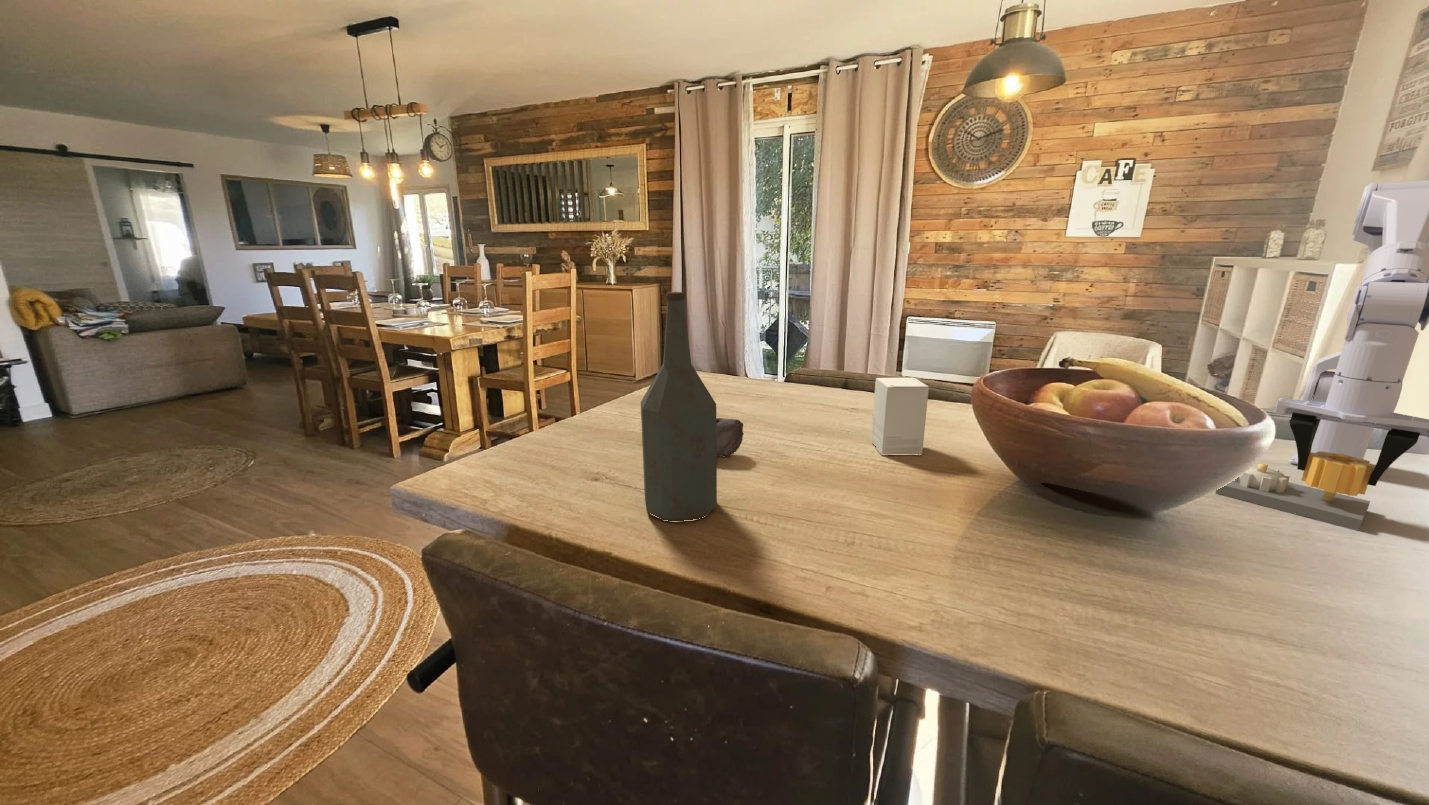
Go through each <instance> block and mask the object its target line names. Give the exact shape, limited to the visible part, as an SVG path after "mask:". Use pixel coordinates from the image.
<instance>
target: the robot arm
mask: <svg viewBox="0 0 1429 805" xmlns="http://www.w3.org/2000/svg"><path fill="white" fill-rule="evenodd" d="M1352 235H1353V238H1352V240H1353V241H1354V242H1356V243H1360V244H1362V245H1365V246H1367V250H1368V258H1367V260H1366V263H1365V266H1364V267H1365V268H1364V271H1363V275H1362V280H1361V283H1360V284H1359V285H1358V286H1357V287H1356V288H1355V291H1354V293H1353V297H1352V299H1351V301H1350V302H1351V303H1350V306H1349V309H1348V313H1347V316H1346V330H1345V334H1344V340H1345V341H1344V344H1343V346H1342V349H1341V350H1340V351H1337V352H1335V353H1332V354H1329V355H1326V356H1323V357H1321V358H1319V359H1317V360H1316V362H1313V364H1312V367H1311V368H1312V369H1311V371H1310V372H1309V374H1308V378H1307V381H1306V385H1305V387H1304V392H1303V394H1302V398H1301V399H1293V398H1292V399H1291V398H1285V397H1280V398H1279V399H1278V400H1277V401H1276V407H1275V410H1274V414H1279V415H1291V417H1290V419H1289V421H1288V422H1289V427H1290V430H1291V432H1292V434H1293V437H1294V441H1295V445H1296V450H1297V451H1295V453H1294V454H1293V455H1292V456H1291V457H1290V458H1289V459H1288V463H1289V464H1294V465H1297V470H1299V471H1303V472H1304V470H1305V468H1306V464H1307V460H1308V457H1309V453H1310V452H1312V453H1316V452H1318V451H1324V452H1328V453H1336V454H1339V453H1340V454H1345V455H1349V456H1351V457H1356V458H1358V459H1365V455H1366V452H1367V448H1368V446H1369V443H1370V440H1371V437H1372V435H1373V431H1374V429H1377V430H1384V431H1387V433H1386V435H1385V438H1384V440H1383V443H1382V447H1381V451H1380V452H1379V456H1378V459H1377V462H1376V464H1375V466H1374V469H1373V471H1372V474H1371V476H1370V478H1369V481H1368V484H1367V485H1368V486H1372V487H1376V486H1377V483H1378V481H1380V478H1381V477H1382V476H1383V474H1384V473H1385V472H1386V470H1388V468H1389V467H1390V466H1391V465H1392V464H1393V463H1394V462H1395V461H1397V459H1399V458H1400V457H1401V456H1402V455H1404V454H1405V453H1406V452H1407V451H1408V450H1410V449H1411V448H1412V447H1414V446H1415V445H1416V444H1417V443H1418V440H1419V438H1420V437H1426V438H1428V439H1429V419H1428V418H1424V417H1418V416H1413V415H1408V414H1402V413H1397V412H1395V410H1396V409H1397V404H1398V403H1399V399H1400V398H1401V392H1402V390H1403V381H1404V379H1405V375H1406V373H1407V370H1408V366H1409V365H1410V361H1411V358H1412V355H1413V352H1414V349H1415V346H1416V343H1417V340H1418V338H1419V335H1420V332H1419V331H1418V330H1417V329H1416V326H1417V325H1418V324H1420V331H1422V332H1423V331H1424V330H1425V329H1426V328H1427V326H1428V325H1429V179H1427V180H1425V179H1424V180H1409V181H1393V182H1378V183H1377V182H1375V181H1374V182H1370V183H1369V184H1368V185H1366V186H1364V189H1363V191H1362V196H1361V198H1360V202H1359V205H1358V208H1357V212H1356V216H1355V219H1354V227H1353V230H1352ZM1331 370H1335V371H1331Z"/></svg>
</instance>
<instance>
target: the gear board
mask: <svg viewBox="0 0 1429 805" xmlns="http://www.w3.org/2000/svg"><path fill="white" fill-rule="evenodd" d="M1253 465H1254V466H1252V467H1251V468H1250V469H1249V470H1247V471H1246V472H1244V473H1243V475H1240V477H1238V478H1237V479H1235V481H1232V482H1231V483H1229V484H1227V485H1226V486H1224V487H1222V488H1220V489H1218V490H1217V489H1216V490H1215V494H1217V495H1221V496H1225V497H1228V498H1232V499H1235V498H1236V499H1237V500H1239V499H1240V500H1239V501H1243V502H1247V501H1249V502H1248V503H1251V502H1252V504H1256V505H1258V504H1260V505H1259V506H1262V505H1263V507H1266V506H1267V507H1266V508H1270V507H1271V508H1270V509H1273V510H1277V509H1278V510H1277V511H1281V510H1284V511H1283V512H1285V511H1286V513H1289V512H1290V513H1289V514H1293V513H1296V514H1295V515H1297V514H1299V515H1298V516H1300V515H1302V516H1301V517H1304V516H1308V517H1311V518H1310V519H1312V518H1313V519H1312V520H1316V519H1317V521H1319V520H1320V522H1323V521H1325V522H1324V523H1327V522H1328V523H1327V524H1331V525H1334V526H1340V527H1343V528H1346V529H1351V530H1355V531H1360V528H1361V526H1362V523H1363V521H1364V520H1365V516H1366V514H1367V512H1368V510H1369V507H1370V503H1371V501H1370V500H1367V499H1362V498H1358V497H1355V496H1349V495H1347V494H1340V493H1335V492H1334V493H1331V492H1326V491H1324V490H1322V489H1318V488H1316V487H1310V486H1308V485H1302V484H1298V483H1294V482H1289V481H1290V478H1291V476H1290V474H1287V473H1283V472H1280V469H1275V468H1273V467H1271V468H1268V467H1269V465H1268V464H1264V463H1258V464H1253ZM1308 517H1307V518H1308Z"/></svg>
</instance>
